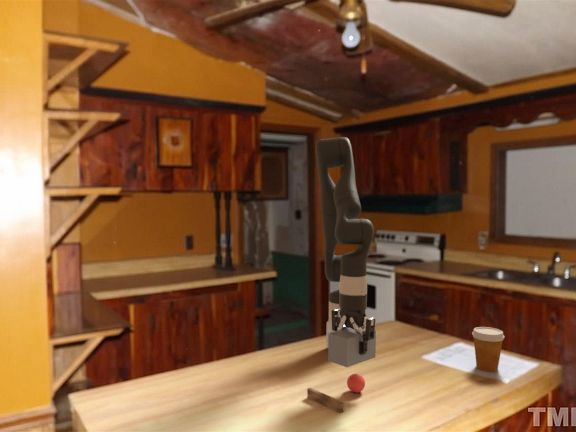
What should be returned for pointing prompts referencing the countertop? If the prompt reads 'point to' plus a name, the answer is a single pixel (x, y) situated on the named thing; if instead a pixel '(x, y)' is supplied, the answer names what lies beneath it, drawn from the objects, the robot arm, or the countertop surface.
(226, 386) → the countertop surface
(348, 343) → the grey rectangular block
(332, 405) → the stopper
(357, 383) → the ball
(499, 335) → the disposable coffee cup
